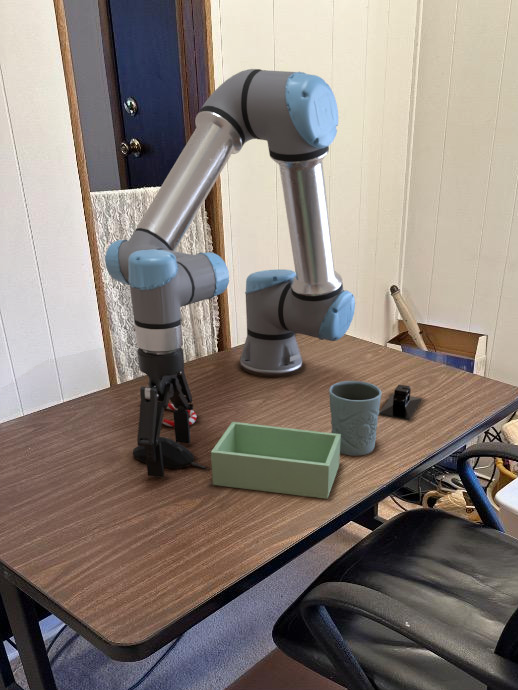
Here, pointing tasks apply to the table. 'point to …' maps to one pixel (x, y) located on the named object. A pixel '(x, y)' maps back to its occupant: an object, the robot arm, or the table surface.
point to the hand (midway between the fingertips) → (170, 458)
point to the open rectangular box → (276, 459)
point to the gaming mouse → (169, 454)
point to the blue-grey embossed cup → (355, 415)
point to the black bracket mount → (401, 403)
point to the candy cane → (171, 407)
